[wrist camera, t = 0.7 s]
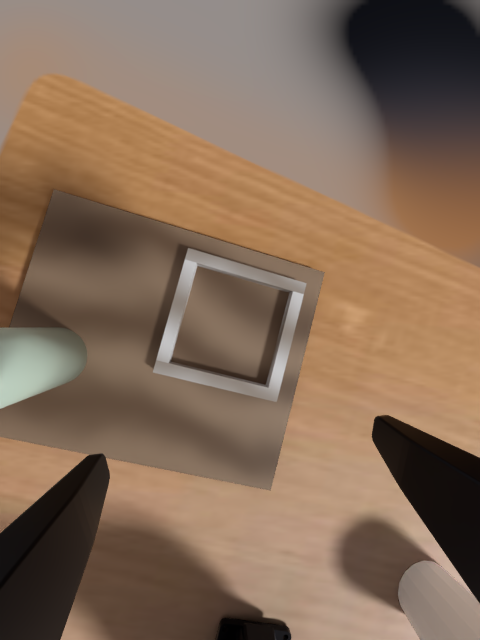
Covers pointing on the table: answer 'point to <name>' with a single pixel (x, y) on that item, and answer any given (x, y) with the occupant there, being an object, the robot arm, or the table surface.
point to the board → (164, 344)
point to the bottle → (37, 361)
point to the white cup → (438, 604)
